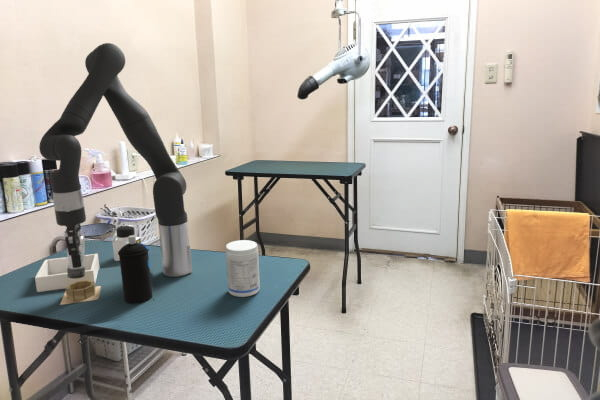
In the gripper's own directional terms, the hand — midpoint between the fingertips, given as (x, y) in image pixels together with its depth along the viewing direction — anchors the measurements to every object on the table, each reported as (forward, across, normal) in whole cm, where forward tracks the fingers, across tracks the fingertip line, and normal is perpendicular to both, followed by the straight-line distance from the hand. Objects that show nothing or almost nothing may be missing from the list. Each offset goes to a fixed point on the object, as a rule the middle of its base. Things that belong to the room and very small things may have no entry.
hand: (78, 263), depth 138 cm
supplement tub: (+12, +11, +45) cm, 48 cm away
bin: (+11, -16, -5) cm, 20 cm away
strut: (+3, 0, -1) cm, 4 cm away
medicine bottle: (+12, -32, +12) cm, 36 cm away
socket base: (+11, -1, 0) cm, 11 cm away
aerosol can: (+12, +8, +15) cm, 21 cm away
